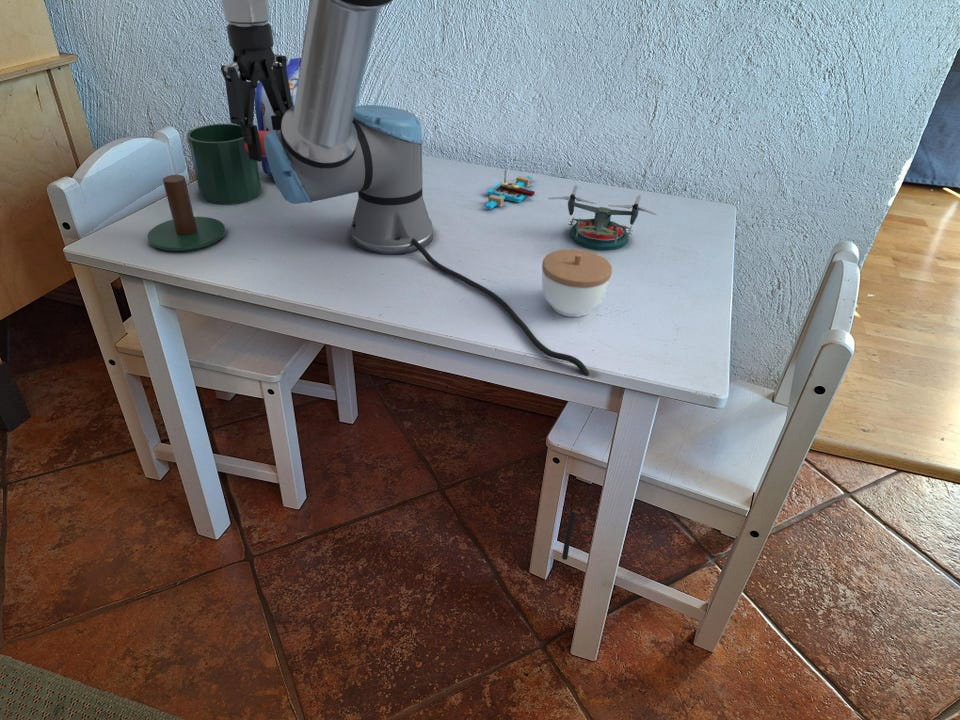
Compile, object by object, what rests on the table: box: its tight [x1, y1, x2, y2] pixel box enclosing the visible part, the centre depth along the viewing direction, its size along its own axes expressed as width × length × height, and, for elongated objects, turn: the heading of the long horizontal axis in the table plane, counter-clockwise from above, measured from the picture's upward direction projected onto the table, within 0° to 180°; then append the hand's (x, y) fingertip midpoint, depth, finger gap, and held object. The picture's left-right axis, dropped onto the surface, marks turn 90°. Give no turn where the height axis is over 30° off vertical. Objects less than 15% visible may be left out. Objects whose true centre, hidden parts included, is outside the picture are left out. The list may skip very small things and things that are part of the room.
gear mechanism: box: [485, 168, 536, 210], centre depth 140 cm, size 20×5×9 cm
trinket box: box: [541, 248, 613, 318], centre depth 103 cm, size 11×11×9 cm
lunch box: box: [254, 57, 301, 177], centre depth 146 cm, size 28×10×22 cm, turn 1°
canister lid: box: [147, 174, 226, 252], centre depth 117 cm, size 13×13×11 cm
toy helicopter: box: [547, 185, 659, 251], centre depth 123 cm, size 20×15×8 cm
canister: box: [186, 123, 262, 205], centre depth 134 cm, size 12×12×12 cm
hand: (269, 154), depth 127 cm, fingers closed on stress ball, 6 cm apart
